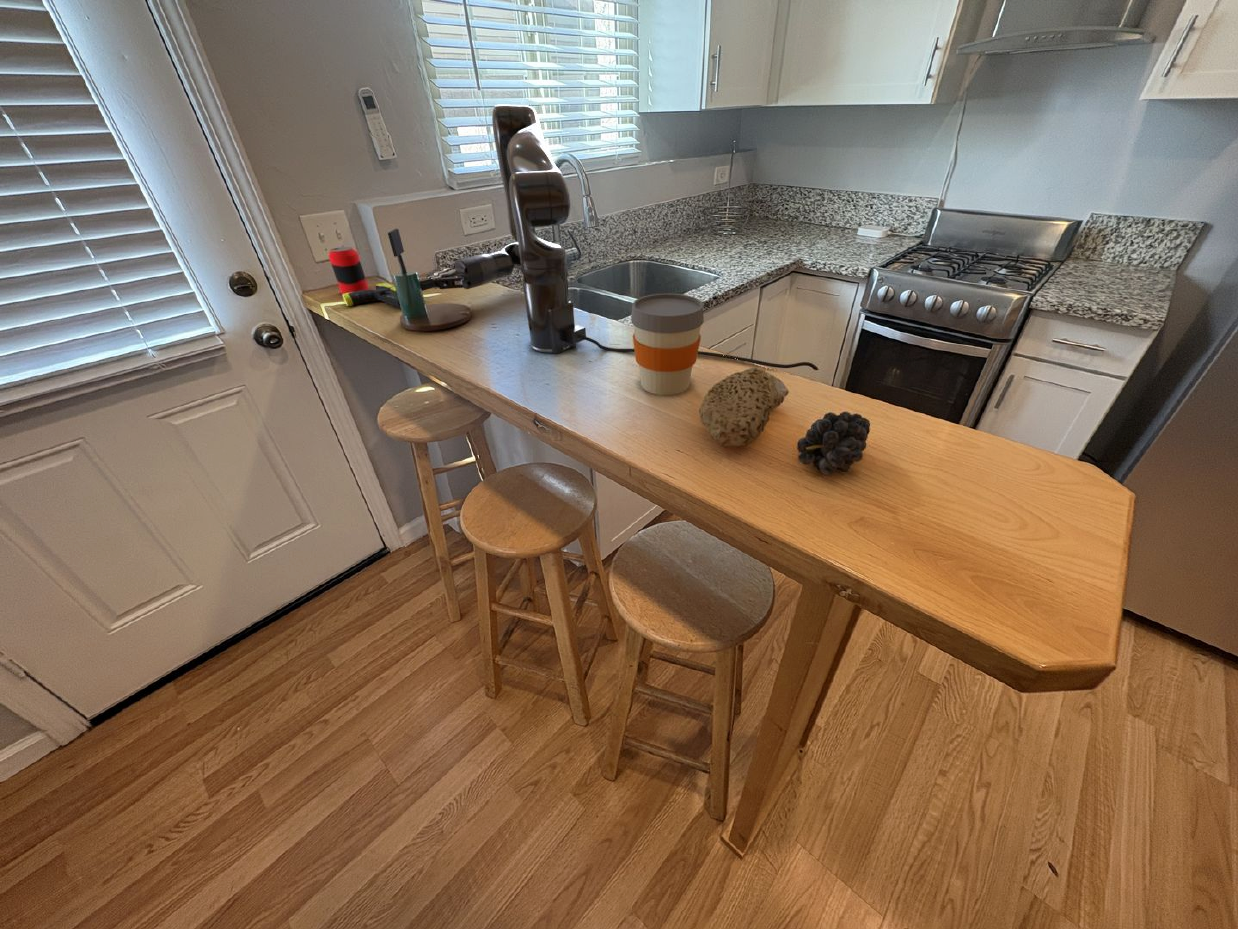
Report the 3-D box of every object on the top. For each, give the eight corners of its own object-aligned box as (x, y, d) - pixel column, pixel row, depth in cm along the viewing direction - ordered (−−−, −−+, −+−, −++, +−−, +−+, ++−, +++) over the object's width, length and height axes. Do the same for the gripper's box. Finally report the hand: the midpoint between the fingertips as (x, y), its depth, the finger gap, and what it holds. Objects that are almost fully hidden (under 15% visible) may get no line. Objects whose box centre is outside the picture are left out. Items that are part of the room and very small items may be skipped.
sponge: (733, 396, 90) (665, 416, 76) (750, 357, 85) (682, 371, 72) (793, 434, 83) (732, 463, 70) (815, 394, 79) (754, 417, 66)
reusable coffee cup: (675, 406, 85) (679, 321, 76) (618, 387, 91) (616, 307, 82) (710, 380, 93) (718, 300, 84) (655, 364, 99) (657, 289, 90)
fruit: (859, 379, 71) (808, 414, 63) (909, 413, 68) (862, 455, 60) (828, 421, 78) (777, 458, 69) (872, 454, 75) (825, 497, 66)
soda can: (352, 288, 149) (338, 245, 142) (374, 288, 147) (361, 246, 140) (336, 295, 143) (320, 251, 136) (359, 296, 141) (344, 252, 134)
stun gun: (370, 306, 124) (422, 292, 134) (335, 293, 134) (386, 280, 144) (374, 318, 126) (425, 303, 135) (339, 303, 136) (389, 290, 145)
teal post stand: (477, 306, 130) (461, 222, 118) (462, 329, 116) (442, 236, 104) (413, 308, 130) (390, 224, 118) (390, 331, 116) (362, 238, 104)
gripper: (459, 252, 132) (399, 266, 122) (488, 260, 125) (426, 275, 115) (465, 280, 137) (408, 296, 127) (493, 289, 129) (434, 307, 119)
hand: (417, 286), depth 121 cm, fingers closed
